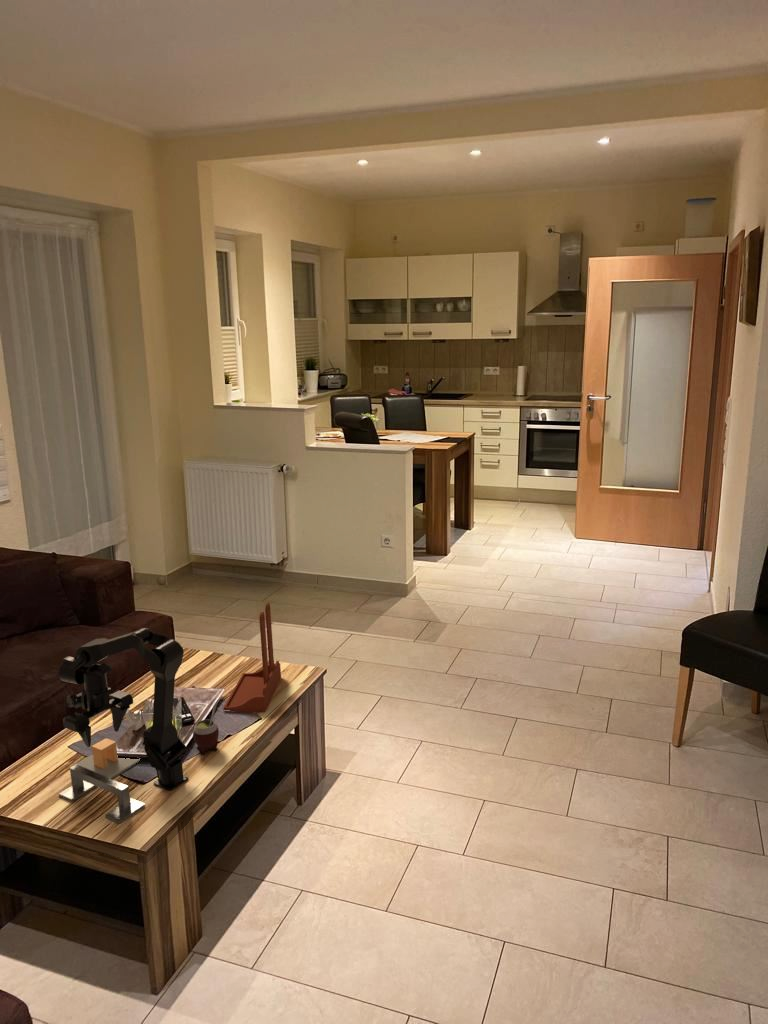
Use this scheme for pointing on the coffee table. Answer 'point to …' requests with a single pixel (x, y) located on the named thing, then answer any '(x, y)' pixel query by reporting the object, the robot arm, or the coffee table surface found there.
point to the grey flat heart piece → (133, 716)
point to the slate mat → (108, 766)
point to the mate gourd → (206, 734)
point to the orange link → (104, 752)
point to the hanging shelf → (257, 677)
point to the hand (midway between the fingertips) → (102, 738)
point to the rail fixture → (89, 780)
